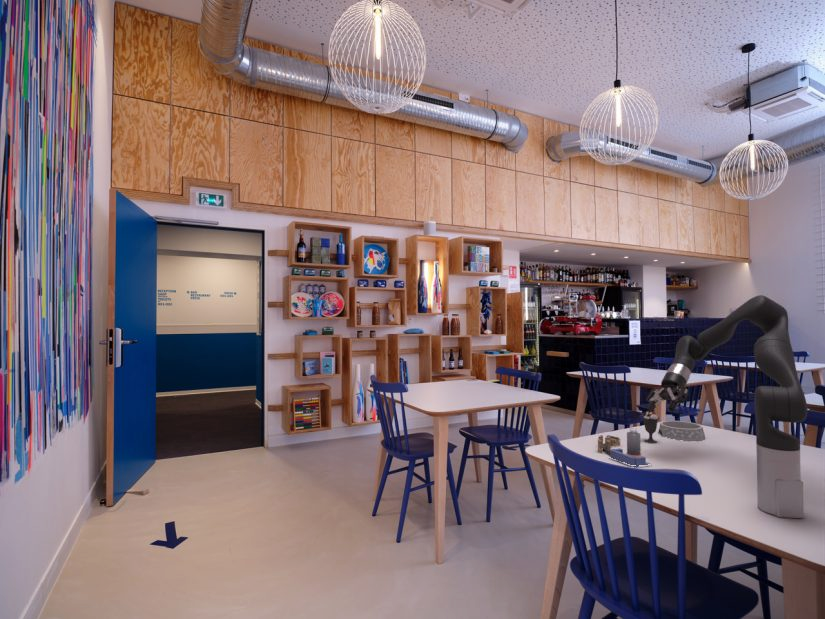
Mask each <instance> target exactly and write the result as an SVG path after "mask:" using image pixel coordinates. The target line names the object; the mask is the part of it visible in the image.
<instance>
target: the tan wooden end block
mask: <svg viewBox="0 0 825 619" xmlns="http://www.w3.org/2000/svg"><path fill="white" fill-rule="evenodd" d="M608 436H609V437H611V444H612V445H611V447H613V446H615V447H614V448H617V447H619V445H620V446H621V437H619V436H614V435H609V434H608V435H606V436H605V437H604V443H606V438H607V437H608ZM616 446H617V447H616Z"/></svg>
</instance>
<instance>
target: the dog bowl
mask: <svg viewBox="0 0 825 619" xmlns="http://www.w3.org/2000/svg"><path fill="white" fill-rule="evenodd" d="M660 431H661V432H660ZM659 433H661V434H662V435H661V436H662V437H663V438H665V437H667V438H666V439H669V438H670V439H669V440H673V439H675V441H680V440H683V441H682V442H691V441H696V442H703V440H704V441H706V440H705V439H707V438H706V434H705V431H704V428H703V426H702V425H701V424H698V423H695V422H691V421H683V420H664V421H661V422H660V423H659V428H658V434H659Z"/></svg>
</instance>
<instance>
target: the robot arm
mask: <svg viewBox="0 0 825 619" xmlns="http://www.w3.org/2000/svg"><path fill="white" fill-rule="evenodd" d="M788 315H789V314H788V311H787V310H786V308H785V307H784V306H783V305H781V304H779V303H778V302H776V301H774V300H773V299H771V298H769V297H767V296H765V295H762V294H761V295H756V296H754V297H751V298H750V299H748V300H747V301H745V302H744V303H742V304H741V305H740V306H739V307H737V308H736V309H735V310H733V311H732V312H731V313H730V314H728V315H727V316H726V317H725V318H723V319H721V321H720V322H718V323H716V324H715V325H713V326H711V327H709V328H707V329H705V330H704V331H702V332H700V333H699V334H698V336H697V339H696V338H694V337H693V336H691V335H684V336H681V337H680V338H679V340H678V341H677V343H676V347H675V354H674V359H673V361H672V363H671V364H670V366H669V368H668V369H667V370H666V372H665V375H663V378H662V380H661V381H660V382H661V383H660V384H661V386H660V387H659V389H656V388H652V389H651V390H650V392H649V394H648V395H647V397H646V398H645V399H646V401H647V402H648V405H647V406H646V409H647V412H648V411H649V412H654V411H655V409H654V408H655V407H657V405H658V404H659V403H662V402H664V401H667V400H668V401H670V402H669V404H668V405H667V410H668V412H670V413H674V411H675V410H676V408H677V406H679V404H684V403H685V402H686V399H687V398H688V394H689V393H690V392H689V390H688V389H687V388H686V386H687V383H688V382H689V380H690V376H691V373H692V372H693V370H694V368H695V365H696V362H697V361H698V362H699V361H702V360H703V359H704V358H705V357H706V356H707V355H708V354H709V353H710V352H711V351H712V350H714V349H715V348H717V347H720V346H721V345H723V344H725V343H727V342H728V341H730V340H731V339H732V338H733V335H734V334H735V331H736V328H737V326H738V325H739V324H740V322H743V321H745V320H747V321H749V322H750V323H752V324H753V325H755V326H756V327H759V328H760V329H761V330H762V331H763V333H764V334H763V335H762V336H760V337H758V339H757V340H756V342H755V343H754V345H753V355H754V362H755V364H756V366H757V367H758V368H759V369H760V371H762V372H763V373H764V374H765V375H766V376H767V377H769V378H770V379H771V380H773V381H775V382H776V383H777V384H778V385H779V386H772V385H771V386H770V385H759V386H757V387H756V389H755V390H754V395H753V396H754V398H753V402H754V411H755V412H754V413H755V425H756V426H755V430H756V431H755V432H756V435H755V436H756V437H755V440H756V442H755V443H756V492H757V498H756V500H757V507H758V509H759V510H761V511H762V512H765V513H768V514H770V515H774V516H776V517H777V518H794V519H797V518H798V519H804V518H805V516H804V515H805V512H804V510H805V509H804V508H805V507H804V506H805V505H804V502H805V501H804V482H803V481H802V477H801V473H802V472H801V467H802V466H801V441H800V439H799V438H798V436H797V437H796V436H795V435H794V434H790V433H788V432H785V431H782V430H780V429H778V428H776V427H775V426H773V425H772V423H771V421H773V422H781V423H783V422H784V423H793V424H794V423H803V422H805V421H806V419H807V417H808V405H807V404H808V403H807V399H806V396H805V393H804V390H803V387H802V384H801V382H800V379H799V376H798V373H797V366H796V362H795V356H794V350H793V347H792V344H791V339H790V332H789V316H788ZM653 410H654V411H653Z"/></svg>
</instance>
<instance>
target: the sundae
mask: <svg viewBox="0 0 825 619" xmlns="http://www.w3.org/2000/svg"><path fill="white" fill-rule="evenodd" d="M655 408H657V406H655ZM655 408H654V410H653V412H649V411H648V410H647V411H646V412H645V411H642V414H643V416H641V418H642V419H643V425H644V429H645V431H646V432H647V433H648V435H649V436H648V438H647V439H644V442H645V443H647V442H648V443H649V444H657V443H658V441H656V440H655V439H653V438H654V437H653V434H654V433H655V432H657V428H658V421H659V420H660V417H659V416H658V415H657V414H656V411H655ZM648 443H647V444H648Z"/></svg>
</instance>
